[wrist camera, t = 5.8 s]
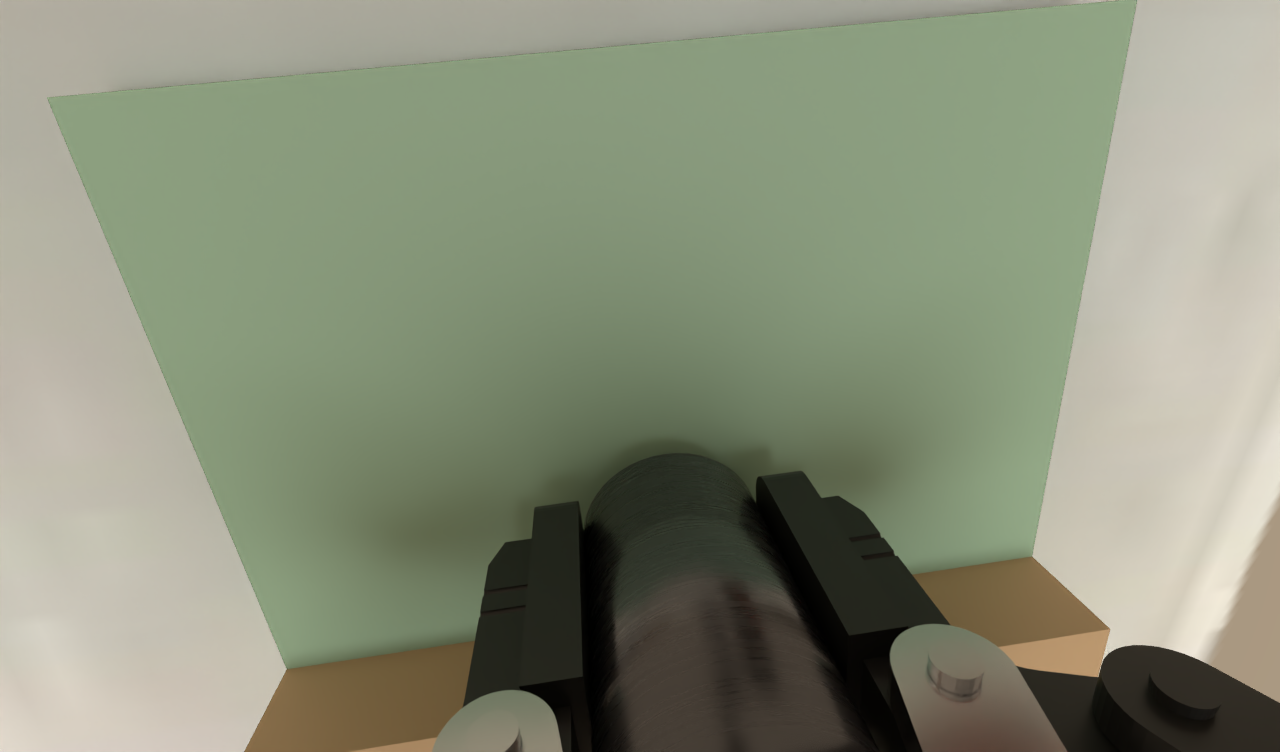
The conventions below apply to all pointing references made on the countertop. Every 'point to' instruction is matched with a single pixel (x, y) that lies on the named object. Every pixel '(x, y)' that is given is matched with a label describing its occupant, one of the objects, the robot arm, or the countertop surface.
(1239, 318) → the countertop surface
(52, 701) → the countertop surface
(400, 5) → the countertop surface
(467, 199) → the pitch
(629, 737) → the rod
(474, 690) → the robot arm
